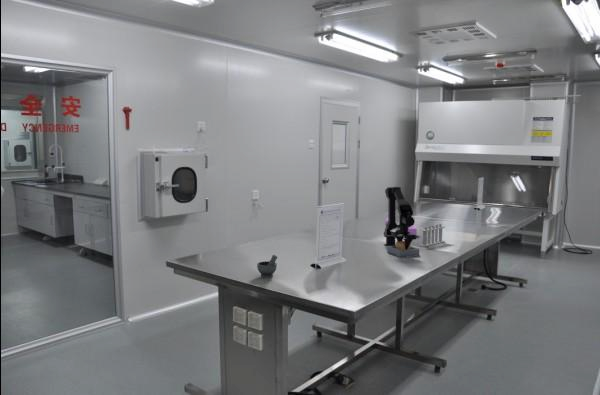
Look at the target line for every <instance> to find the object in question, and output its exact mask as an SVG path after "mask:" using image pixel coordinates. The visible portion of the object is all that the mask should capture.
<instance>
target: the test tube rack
mask: <svg viewBox="0 0 600 395" xmlns="http://www.w3.org/2000/svg"><path fill="white" fill-rule="evenodd" d="M445 228H446V226H443V225H442V223H439V224H435V225H434V224H433V225H428V226H424V229H420V230H419V231H420V232H421V231H422V233H423V234H422V244H419V247H422V246H423V248H426V247H430V246H435V245H439V243H440V244H444V243H446V241H445V240H443V229H445Z"/></svg>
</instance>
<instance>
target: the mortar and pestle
mask: <svg viewBox="0 0 600 395" xmlns="http://www.w3.org/2000/svg"><path fill="white" fill-rule="evenodd" d="M277 259H278V256H277V255H276V254H273V255H272V256H271V258H270V260H269V261H266V260H265V261H260V262H258V263H257V264H256V265H257V266H256V267H257V270H258V272H259V273H260V278H261V279H273V277H274V273H275V272H276V270H277V266H278V265H277V262H276V261H277Z"/></svg>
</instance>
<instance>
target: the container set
mask: <svg viewBox="0 0 600 395" xmlns="http://www.w3.org/2000/svg"><path fill="white" fill-rule="evenodd" d="M387 223H388V217H387V218H386V219H385V222H384V226H385V227H384V230H385V229H386V225H387ZM417 229H418V227H417V226H410V227H409V228H408V232H410V234H414V235H416V237H417V236H418V235H417V233H418V230H417Z"/></svg>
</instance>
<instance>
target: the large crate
mask: <svg viewBox="0 0 600 395" xmlns="http://www.w3.org/2000/svg"><path fill="white" fill-rule="evenodd" d="M386 247H387V248H386V249H387V250H386V253H388V254H390V253H391V254H390V255H392V256H395V255H396V257H398V258H405V257H407V256H408V257H416V256H415V255H418V256H420V249H419V248H417V247H416V246H411V249H410V250H398V249H396V244H395V246H386Z"/></svg>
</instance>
